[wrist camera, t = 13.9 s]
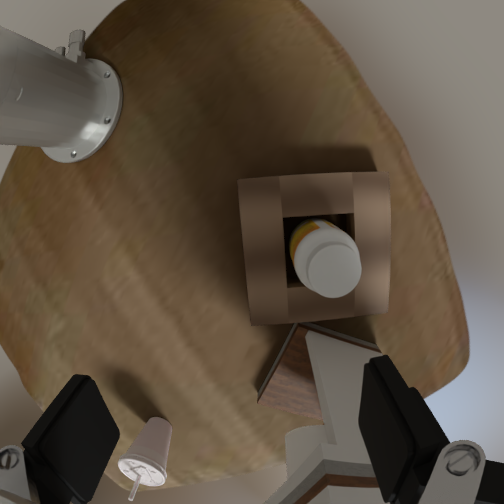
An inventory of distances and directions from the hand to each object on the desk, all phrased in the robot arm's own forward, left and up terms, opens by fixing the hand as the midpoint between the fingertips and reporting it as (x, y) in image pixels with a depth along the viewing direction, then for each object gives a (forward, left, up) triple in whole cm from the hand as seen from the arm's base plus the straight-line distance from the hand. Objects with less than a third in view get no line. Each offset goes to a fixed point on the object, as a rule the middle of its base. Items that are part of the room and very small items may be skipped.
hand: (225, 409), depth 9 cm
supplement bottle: (0, +6, -23) cm, 24 cm away
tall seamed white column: (+15, +6, -23) cm, 28 cm away
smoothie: (+25, -16, -23) cm, 37 cm away
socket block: (0, +6, -22) cm, 23 cm away
